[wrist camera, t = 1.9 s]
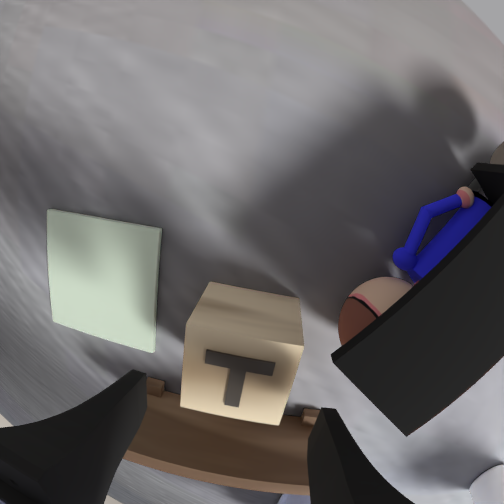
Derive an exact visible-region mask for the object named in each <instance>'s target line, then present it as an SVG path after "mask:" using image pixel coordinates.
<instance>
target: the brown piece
mask: <svg viewBox="0 0 504 504" xmlns="http://www.w3.org/2000/svg"><path fill="white" fill-rule="evenodd" d="M146 382H147V410H146V412H145V415H144V418H143V420H142V423H141V425H140V427H139V429H138V431H137V433H136V435H135V437H134V438H133V440H132V442H131V444H130V446H129V447H128V449H127V451H126V453H125V455H124V456H123V459H126V460H129V461H132V462H135V463H138V464H141V465H144V466H147V467H150V468H154V469H157V470H160V471H164V472H167V473H171V474H175V475H179V476H183V477H187V478H191V479H195V480H200V481H204V482H209V483H214V484H219V485H224V486H230V487H235V488H242V489H248V490H255V491H263V492H272V493H281V494H293V495H308V496H310V489H309V478H308V466H307V446H308V437H309V435H310V433H311V431H312V428H313V426H314V424H315V422H316V419H317V417H318V415H319V412H320V410H315V409H306V408H304V410H303V413H302V415H301V417H297V416H289V415H282V418H281V421H280V424H279V425H271V424H265V423H258V422H252V421H246V420H241V419H235V418H230V417H225V416H220V415H215V414H210V413H206V412H201V411H197V410H193V409H189V408H185V407H181V406H180V402H181V395H179V394H175V393H171V392H167V391H164V385H165V381H161V380H158V379H154V378H151V377H148V378H147V380H146Z"/></svg>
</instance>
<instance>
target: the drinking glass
mask: <svg viewBox="0 0 504 504" xmlns="http://www.w3.org/2000/svg"><path fill="white" fill-rule="evenodd" d="M469 492H470V495H471V498H472V500H473V503H474V504H504V465H497V466H495V467H492V468H491V469H489V470H487V471H486V472H484V473H483V474H481V475H480V476H479V477H478V478H477V479H475V481H474V482H473V483H472V484H471V486H470V489H469Z"/></svg>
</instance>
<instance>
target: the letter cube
mask: <svg viewBox="0 0 504 504" xmlns="http://www.w3.org/2000/svg"><path fill="white" fill-rule="evenodd" d="M303 349H304V340H303V330H302V321H301V311H300V302H299V298H295V297H290V296H284V295H279V294H273V293H268V292H262V291H257V290H252V289H246V288H241V287H236V286H231V285H226V284H221V283H216V282H211V281H210V282H209V284H208V285H207V287H206V289H205V291H204V292H203V294H202V296H201V298H200V300H199V301H198V303H197V305H196V307H195V309H194V310H193V312H192V314H191V316H190V318H189V319H188V321H187V323H186V330H185V342H184V355H183V369H182V384H181V402H180V406H181V407H185V408H189V409H193V410H197V411H201V412H206V413H210V414H215V415H220V416H225V417H230V418H235V419H241V420H246V421H252V422H258V423H265V424H271V425H279V424H280V421H281V418H282V415H283V412H284V409H285V406H286V403H287V400H288V397H289V394H290V391H291V388H292V384H293V381H294V378H295V375H296V372H297V368H298V365H299V362H300V359H301V355H302V352H303Z"/></svg>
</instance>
